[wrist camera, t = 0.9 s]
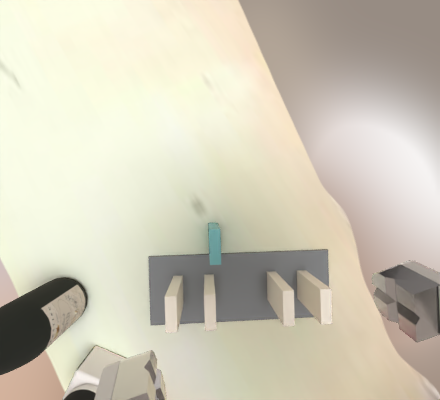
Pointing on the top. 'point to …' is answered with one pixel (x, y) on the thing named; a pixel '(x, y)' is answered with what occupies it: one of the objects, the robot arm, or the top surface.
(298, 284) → the ivory domino
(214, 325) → the ivory domino
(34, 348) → the wine bottle
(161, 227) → the top surface
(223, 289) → the slate mat
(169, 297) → the ivory domino
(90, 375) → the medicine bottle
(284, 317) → the ivory domino
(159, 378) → the robot arm
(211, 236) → the teal domino
